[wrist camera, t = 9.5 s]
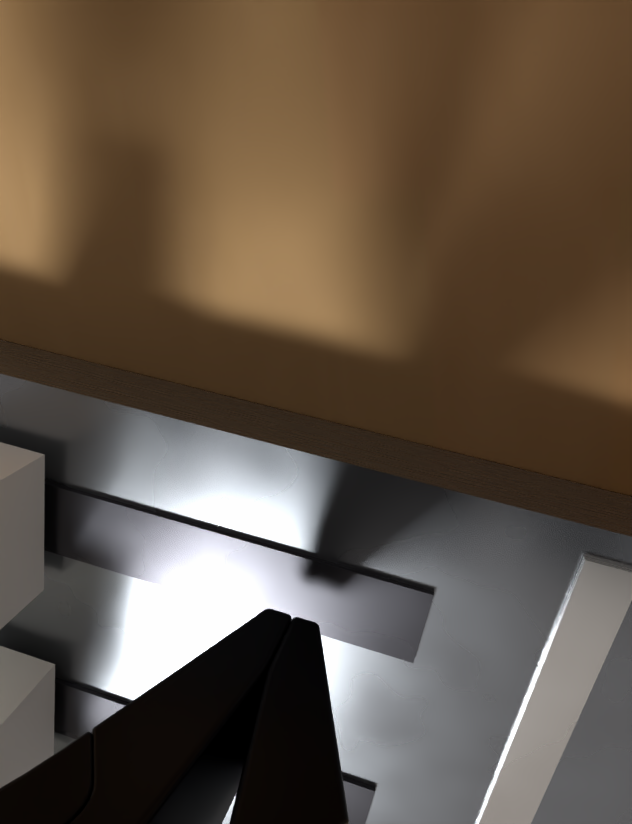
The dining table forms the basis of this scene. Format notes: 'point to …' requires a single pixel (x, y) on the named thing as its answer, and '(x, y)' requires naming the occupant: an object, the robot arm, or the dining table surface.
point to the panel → (335, 588)
